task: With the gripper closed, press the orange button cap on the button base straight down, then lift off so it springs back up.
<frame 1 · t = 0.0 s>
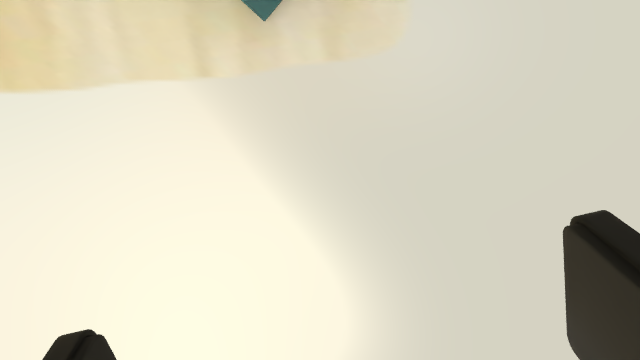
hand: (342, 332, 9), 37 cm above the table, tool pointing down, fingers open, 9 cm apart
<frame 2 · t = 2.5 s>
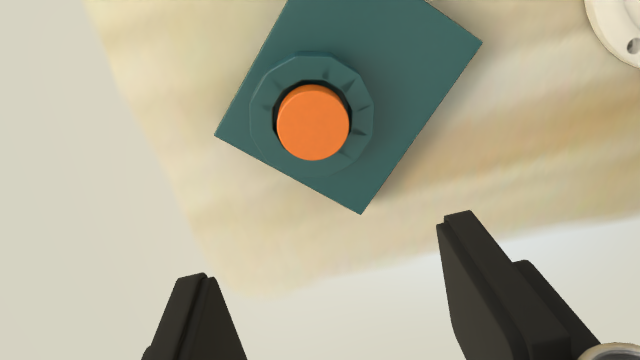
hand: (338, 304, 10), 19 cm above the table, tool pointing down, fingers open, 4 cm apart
button base: (341, 82, 28), on the table
orange button cap: (312, 122, 24), point 4 cm above the table, slide at 0.1 cm
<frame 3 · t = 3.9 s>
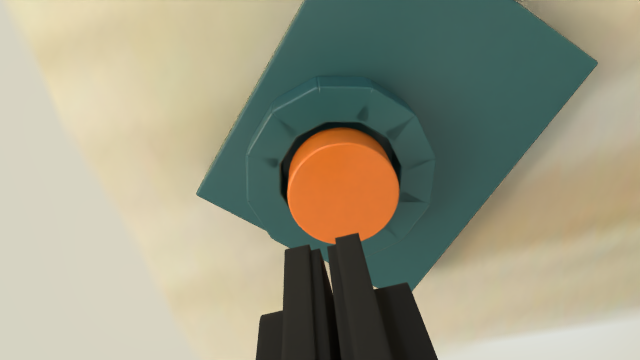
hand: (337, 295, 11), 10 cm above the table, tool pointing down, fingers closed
button base: (380, 116, 20), on the table
orange button cap: (341, 185, 16), point 4 cm above the table, slide at 0.1 cm
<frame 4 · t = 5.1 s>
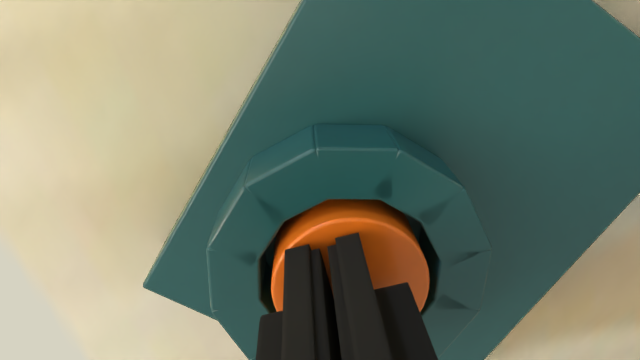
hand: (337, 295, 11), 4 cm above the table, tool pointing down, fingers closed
button base: (400, 169, 14), on the table
orange button cap: (347, 268, 11), point 3 cm above the table, slide at -0.9 cm, touching gripper
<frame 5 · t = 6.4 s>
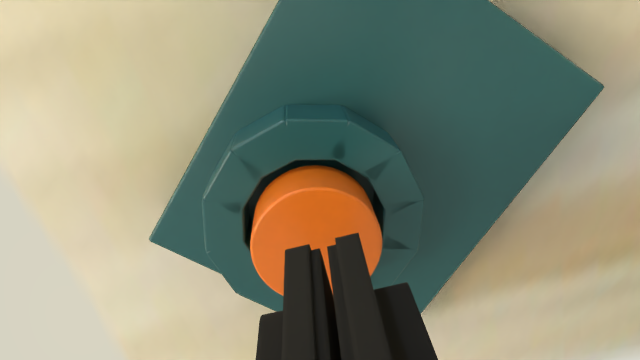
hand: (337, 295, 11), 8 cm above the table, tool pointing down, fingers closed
button base: (359, 145, 17), on the table
orange button cap: (315, 233, 14), point 4 cm above the table, slide at 0.1 cm
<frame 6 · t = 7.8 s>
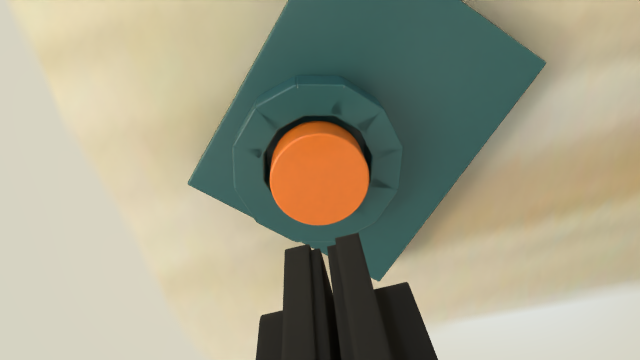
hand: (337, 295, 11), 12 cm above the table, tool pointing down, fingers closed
button base: (355, 112, 21), on the table
orange button cap: (318, 172, 18), point 4 cm above the table, slide at 0.1 cm
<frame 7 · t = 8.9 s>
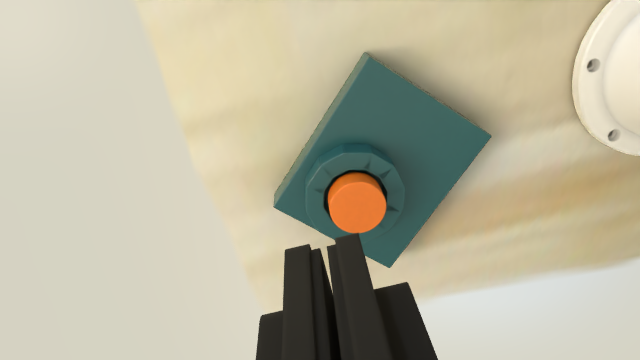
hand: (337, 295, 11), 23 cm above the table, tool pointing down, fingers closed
button base: (375, 161, 34), on the table
orange button cap: (356, 202, 30), point 4 cm above the table, slide at 0.1 cm
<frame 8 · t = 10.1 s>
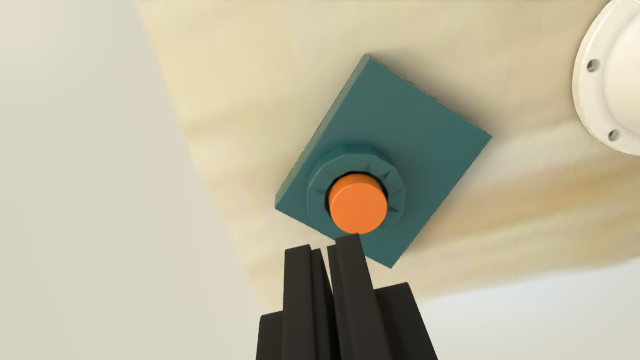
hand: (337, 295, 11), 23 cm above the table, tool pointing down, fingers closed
button base: (376, 162, 34), on the table
orange button cap: (357, 203, 30), point 4 cm above the table, slide at 0.1 cm
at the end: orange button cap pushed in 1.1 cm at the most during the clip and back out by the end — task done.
